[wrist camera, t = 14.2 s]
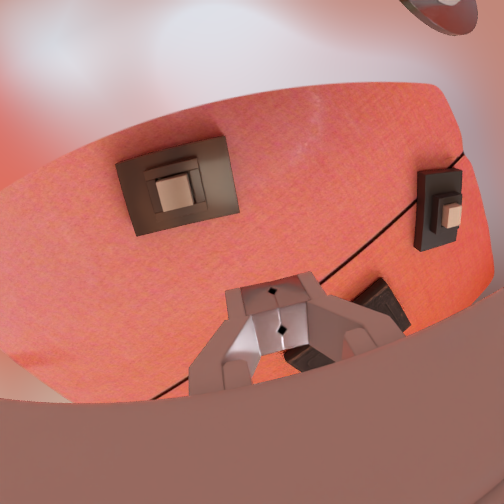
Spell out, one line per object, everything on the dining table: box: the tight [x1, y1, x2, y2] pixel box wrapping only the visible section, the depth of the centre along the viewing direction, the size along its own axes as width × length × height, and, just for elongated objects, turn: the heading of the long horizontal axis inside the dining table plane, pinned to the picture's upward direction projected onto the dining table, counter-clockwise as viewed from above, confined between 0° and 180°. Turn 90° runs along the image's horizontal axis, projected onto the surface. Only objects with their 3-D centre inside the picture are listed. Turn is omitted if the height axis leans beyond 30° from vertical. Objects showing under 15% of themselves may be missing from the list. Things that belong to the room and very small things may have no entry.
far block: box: [414, 168, 462, 252], centre depth 42 cm, size 14×10×4 cm
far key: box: [441, 203, 462, 228], centre depth 40 cm, size 4×4×2 cm
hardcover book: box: [284, 278, 411, 372], centre depth 52 cm, size 16×23×2 cm
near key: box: [156, 173, 194, 212], centre depth 32 cm, size 4×4×2 cm
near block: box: [115, 135, 240, 236], centre depth 34 cm, size 14×10×4 cm
